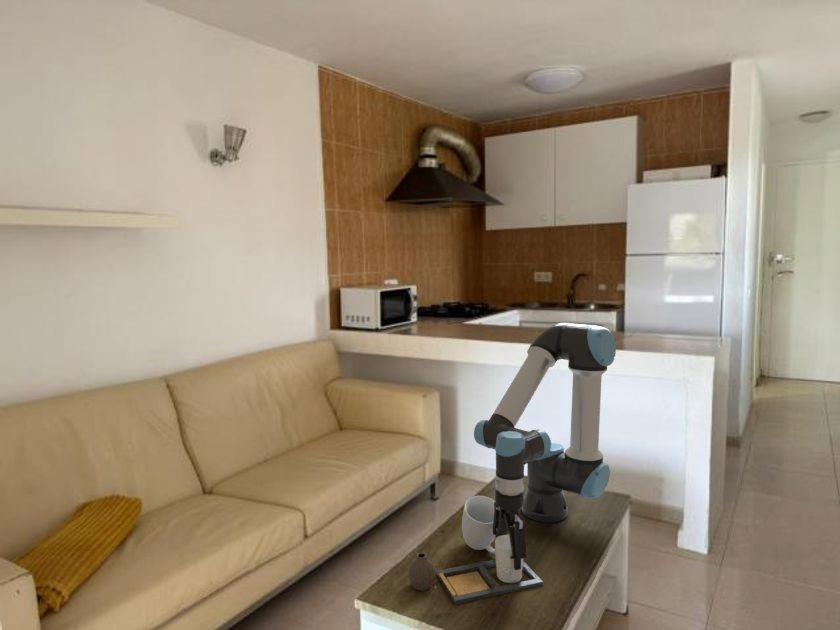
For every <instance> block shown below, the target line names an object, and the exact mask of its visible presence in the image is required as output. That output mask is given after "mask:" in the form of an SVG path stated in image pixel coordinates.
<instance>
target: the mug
mask: <svg viewBox="0 0 840 630" xmlns="http://www.w3.org/2000/svg"><path fill="white" fill-rule="evenodd" d="M494 502H495V499H493V498H491V497H488V496H486V495H485V496H484V495H475V496H472V497H470V498H468V499H467V500H466V501H465V503H464V506H463V512H462V517H461V518H462V519H461V531H462V537H463V540H464V542H465V543H466V545H467V546H468V547H470V548H471V549H473V550H476V551H481V550H487V552H489V553H491V554H493V555H495V548H493V547H492V545H491V544H492V543H493V542H494V541H495V539H496V538H495V536H496V535H493V520H494ZM496 530H497V529H496Z"/></svg>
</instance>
